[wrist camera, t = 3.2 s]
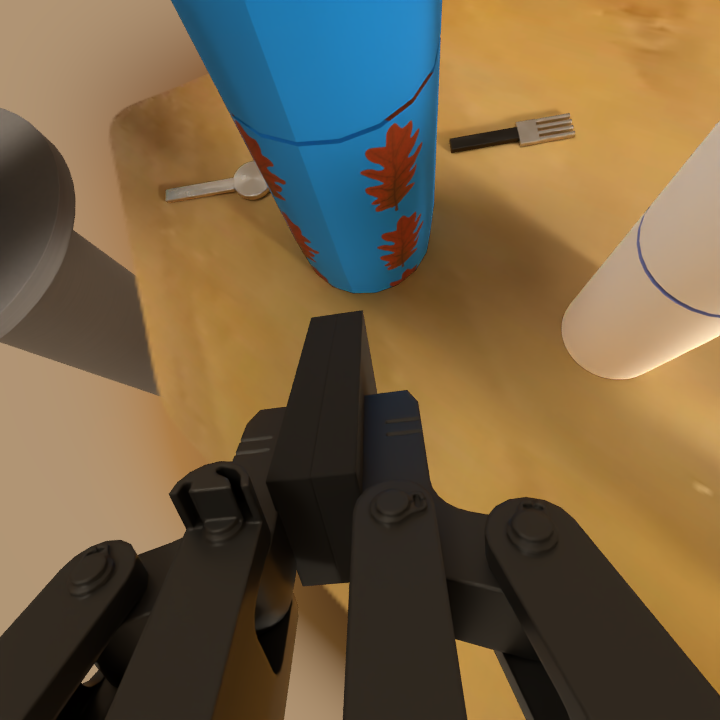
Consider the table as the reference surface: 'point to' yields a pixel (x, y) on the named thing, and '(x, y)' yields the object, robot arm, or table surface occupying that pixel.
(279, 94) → the thermos
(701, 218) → the cylindrical container
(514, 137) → the fork
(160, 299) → the table surface
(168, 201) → the metal disc paddle
